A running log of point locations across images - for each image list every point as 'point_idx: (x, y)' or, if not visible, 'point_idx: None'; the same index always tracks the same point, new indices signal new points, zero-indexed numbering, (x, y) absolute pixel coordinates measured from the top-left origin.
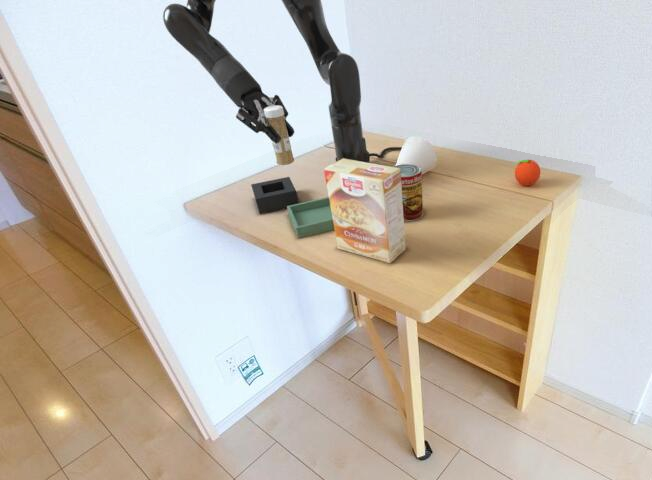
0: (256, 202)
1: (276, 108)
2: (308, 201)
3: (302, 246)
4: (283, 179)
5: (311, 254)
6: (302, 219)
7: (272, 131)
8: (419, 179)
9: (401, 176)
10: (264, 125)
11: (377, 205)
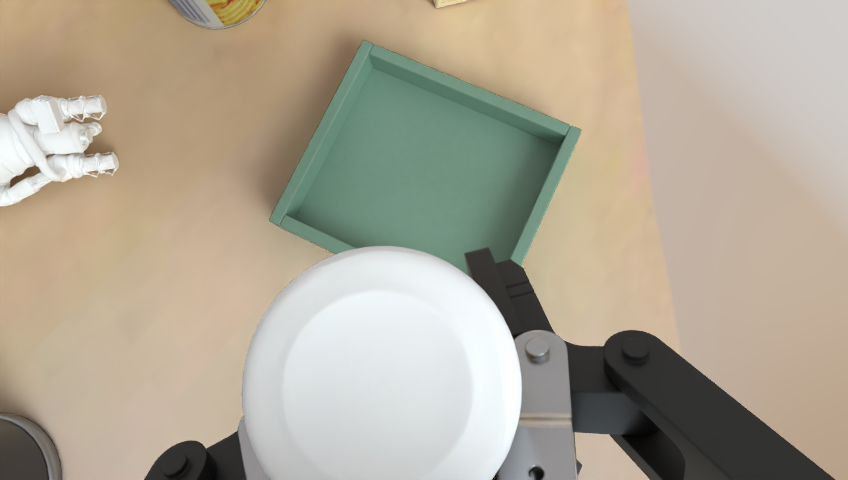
0: (578, 461)
1: (384, 279)
2: None
3: (595, 89)
4: None
5: (604, 27)
6: (489, 228)
7: (510, 300)
8: None
9: None
10: (568, 353)
11: None
